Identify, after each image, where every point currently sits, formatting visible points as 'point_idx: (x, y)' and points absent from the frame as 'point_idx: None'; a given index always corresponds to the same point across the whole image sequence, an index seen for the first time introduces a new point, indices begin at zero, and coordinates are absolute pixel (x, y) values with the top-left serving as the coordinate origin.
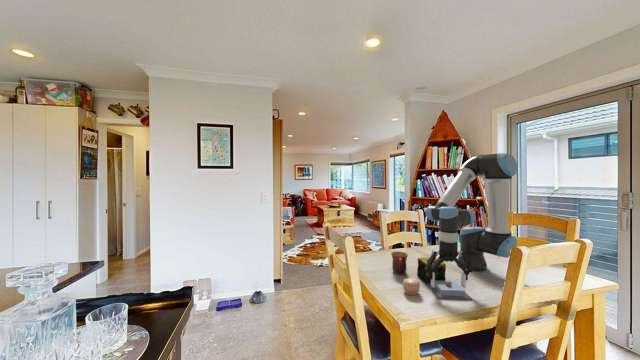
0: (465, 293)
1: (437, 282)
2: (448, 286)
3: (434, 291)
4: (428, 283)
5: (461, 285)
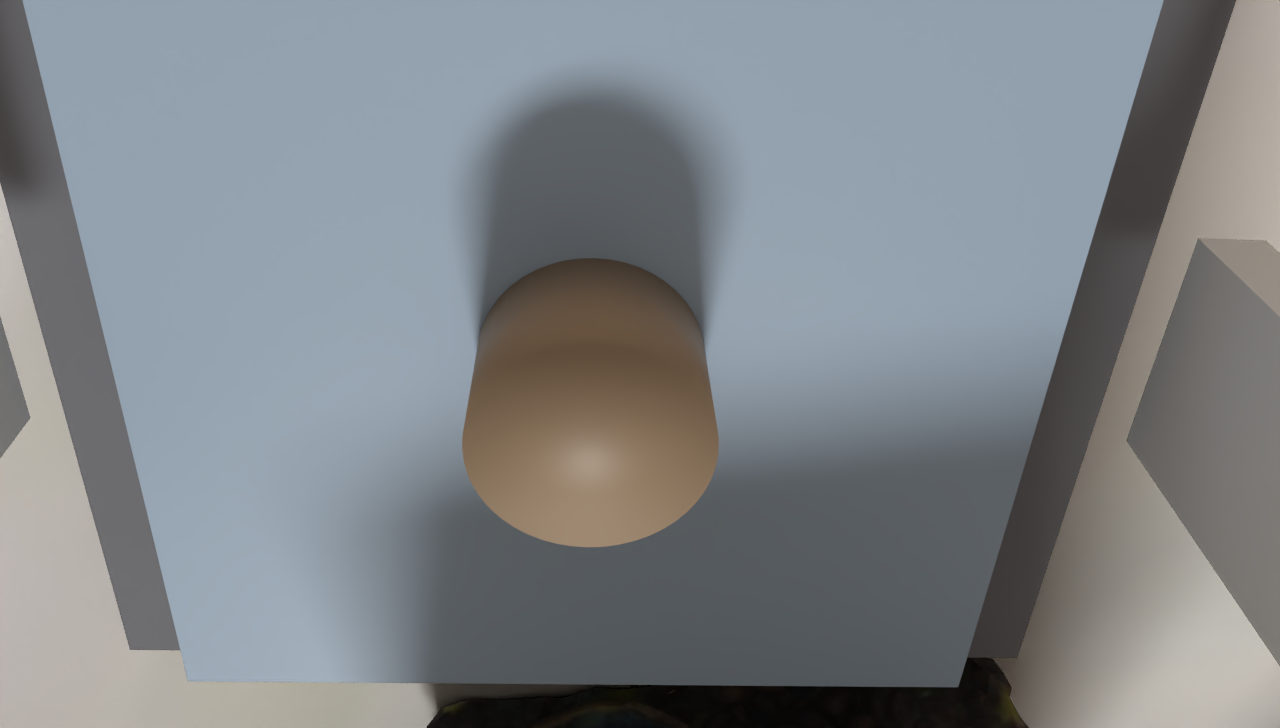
0: (2, 40)
1: (889, 559)
2: (634, 252)
3: (1140, 166)
4: (975, 653)
5: (10, 408)
